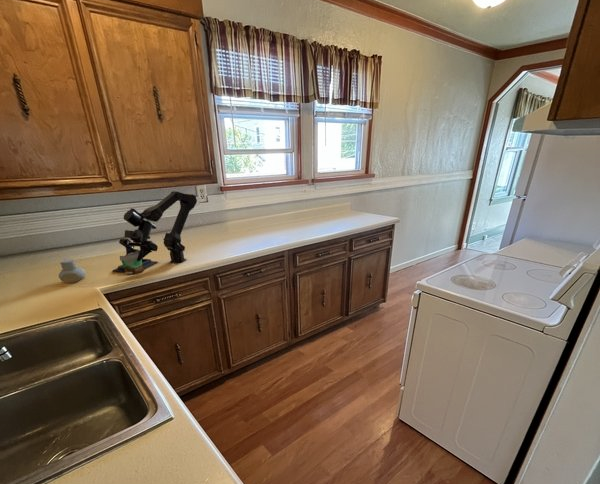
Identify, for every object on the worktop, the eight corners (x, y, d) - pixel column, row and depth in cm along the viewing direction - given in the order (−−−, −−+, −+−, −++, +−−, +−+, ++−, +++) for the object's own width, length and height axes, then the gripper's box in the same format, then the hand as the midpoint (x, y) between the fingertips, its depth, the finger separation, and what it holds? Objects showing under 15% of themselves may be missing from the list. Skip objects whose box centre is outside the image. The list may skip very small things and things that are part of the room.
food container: (135, 277, 156) (130, 256, 151) (124, 276, 157) (118, 256, 152) (151, 268, 166) (146, 249, 162) (140, 267, 167) (135, 248, 163)
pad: (157, 262, 181) (156, 258, 180) (136, 273, 166) (134, 269, 165) (135, 261, 184) (134, 257, 183) (112, 271, 169) (111, 267, 168)
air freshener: (89, 276, 163) (82, 257, 158) (85, 282, 156) (78, 262, 151) (64, 279, 160) (56, 259, 155) (58, 285, 153) (51, 264, 148)
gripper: (116, 221, 156) (104, 250, 152) (147, 223, 151) (136, 253, 147) (132, 234, 167) (122, 261, 163) (162, 236, 161) (152, 264, 157)
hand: (132, 260), depth 157 cm, fingers closed on food container, 6 cm apart
